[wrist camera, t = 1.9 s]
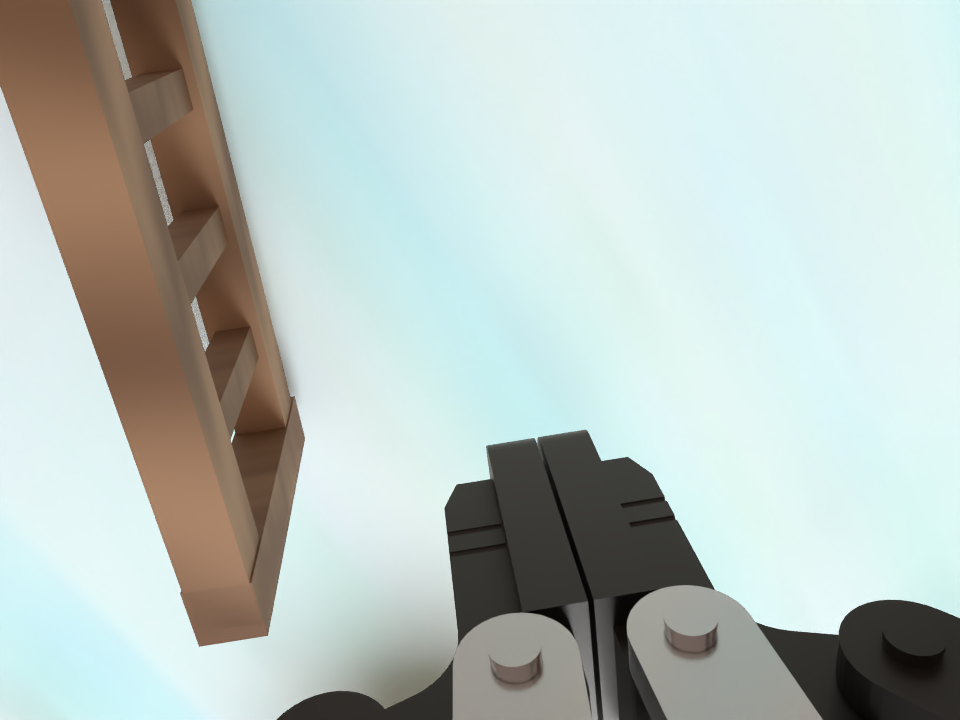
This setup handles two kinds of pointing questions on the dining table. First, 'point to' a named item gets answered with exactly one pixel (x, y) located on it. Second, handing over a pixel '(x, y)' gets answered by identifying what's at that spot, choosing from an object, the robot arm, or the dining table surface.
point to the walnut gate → (164, 285)
